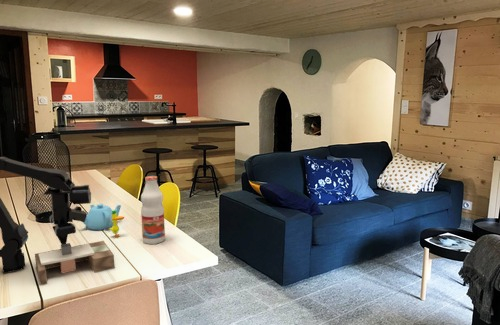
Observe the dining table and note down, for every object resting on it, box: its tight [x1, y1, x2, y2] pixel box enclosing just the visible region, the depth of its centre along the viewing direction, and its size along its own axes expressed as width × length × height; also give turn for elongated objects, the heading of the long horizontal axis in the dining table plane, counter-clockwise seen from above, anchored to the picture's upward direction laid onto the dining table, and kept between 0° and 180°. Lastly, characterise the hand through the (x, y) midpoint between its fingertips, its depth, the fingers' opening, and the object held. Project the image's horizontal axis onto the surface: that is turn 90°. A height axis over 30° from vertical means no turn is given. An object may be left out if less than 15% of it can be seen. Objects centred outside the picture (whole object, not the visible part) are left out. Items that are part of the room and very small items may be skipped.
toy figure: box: [109, 209, 125, 238], centre depth 171 cm, size 7×4×12 cm, turn 118°
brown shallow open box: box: [34, 240, 116, 286], centre depth 142 cm, size 24×16×5 cm, turn 123°
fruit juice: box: [140, 175, 166, 245], centre depth 166 cm, size 9×9×28 cm
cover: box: [38, 242, 94, 266], centre depth 140 cm, size 17×10×4 cm, turn 123°
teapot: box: [82, 203, 122, 231], centre depth 184 cm, size 15×15×11 cm
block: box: [59, 259, 77, 274], centre depth 141 cm, size 4×4×4 cm
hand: (64, 245), depth 144 cm, fingers closed
